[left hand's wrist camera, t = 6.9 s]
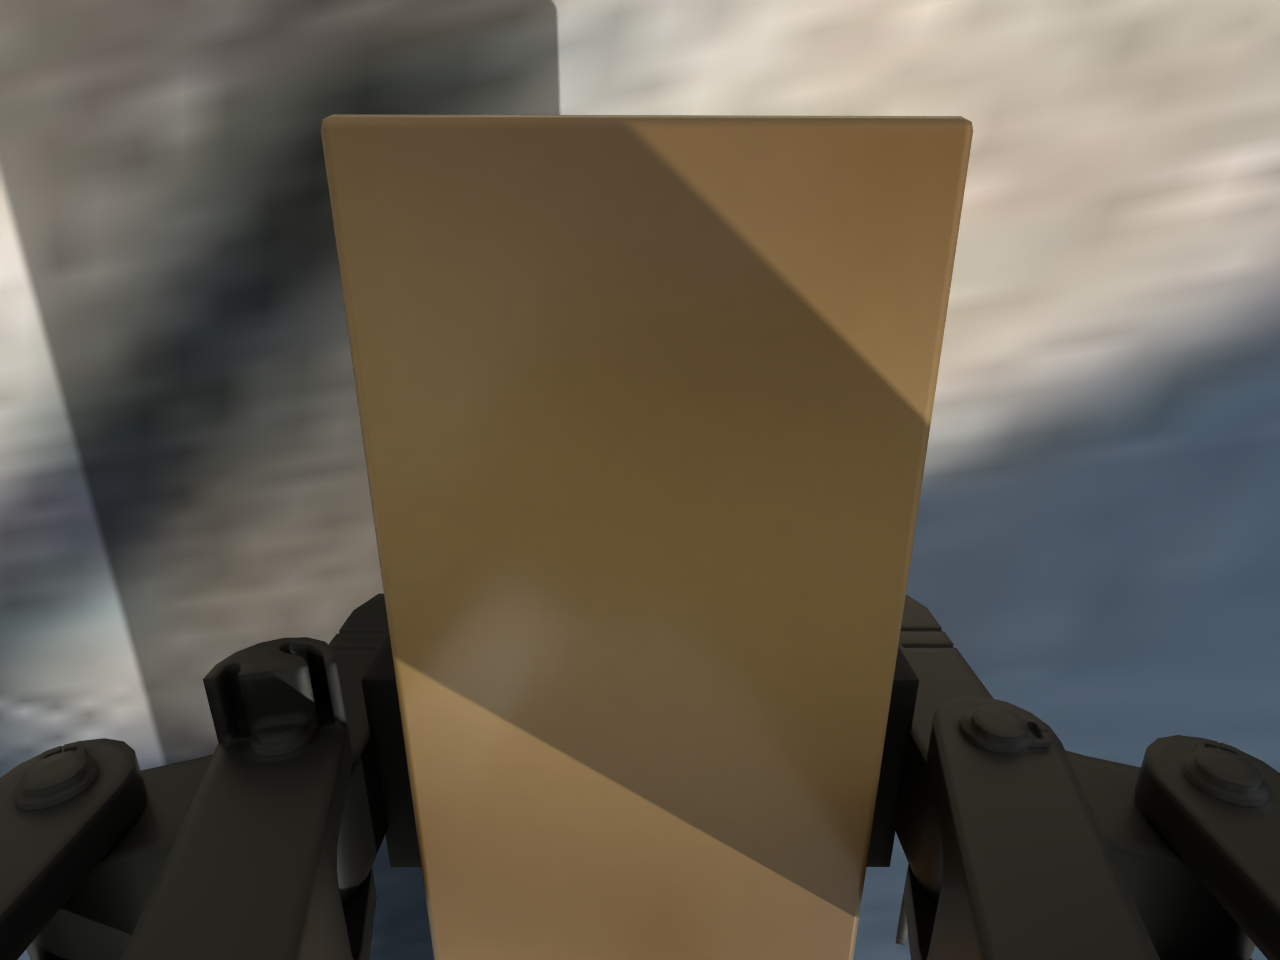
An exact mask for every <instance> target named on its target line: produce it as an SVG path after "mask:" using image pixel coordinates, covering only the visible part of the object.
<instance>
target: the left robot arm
mask: <svg viewBox="0 0 1280 960" xmlns="http://www.w3.org/2000/svg"><path fill="white" fill-rule="evenodd" d="M339 631H340V632H339V634H336V636H335V637H334V638H333V640H332V641H331V642H330V644H329V645H328V644H327V643H326V642H324V641H320V640H315V639H311V638H307V637H305V638H282V639H277V640H272V641H267V642H263V643H259V644H256V645H254V646H251V647H248V648H246V649H243V650H241V651H238V652H236V653H234V654H232V655H231V656H229V657H228V658H226V659H225V660H223V661H221V662H220V663H218V664H217V665H215V666H214V668H213V669H212V670H211V671H210V672H209V673H208V674H207V675H206V677H205V678H204V679H203V682H204V686H205V690H206V694H207V698H208V702H209V706H210V710H211V714H212V718H213V722H214V726H215V730H216V734H217V738H218V742H219V744H218V746H217V748H216V750H215V753H214V754H212V755H208V756H204V757H201V758H197V759H193V760H188V761H183V762H179V763H174V764H169V765H165V766H160V767H155V768H151V769H146V770H140V767H139V764H138V760H137V757H136V754H135V751H134V750H133V749H132V748H131V747H130V746H128V745H127V744H126V743H125V742H123V741H117V740H111V739H105V738H103V739H95V740H86V741H78V742H74V743H70V744H66V745H64V746H59V747H56V748H53V749H50V750H48V751H45V752H43V753H42V754H40V755H38V756H36V757H34V758H32V759H30V760H28V761H26V762H23V763H21V764H19V765H18V766H16V767H15V768H14V769H12V770H11V771H9V772H8V773H6V774H5V775H4V776H2V777H1V778H0V960H17V959H18V958H19V957H20V956H21V955H22V953H23V952H24V951H25V950H26V949H27V951H28V954H29V956H30V959H31V960H369V956H370V947H371V939H372V930H373V922H374V913H375V905H376V890H375V882H374V876H373V870H372V865H373V862H374V860H375V857H376V855H377V853H378V850H379V848H380V845H381V843H382V840H383V838H384V836H385V833H386V839H387V846H388V852H389V858H390V865H391V867H421V860H420V853H419V846H418V838H417V831H416V824H415V816H414V809H413V802H412V794H411V787H410V780H409V772H408V765H407V758H406V750H405V743H404V736H403V728H402V721H401V714H400V706H399V699H398V692H397V685H396V677H395V670H394V663H393V655H392V648H391V641H390V633H389V626H388V619H387V611H386V604H385V597H384V594H378V595H376V596H375V597H373V598H372V599H370V600H369V601H367V602H366V603H364V604H363V605H361V606H360V607H358V608H357V609H355V610H354V611H353V612H352V614H351V615H350V616H349V618H348V619H347V620H346V622H345V623H344V625H343V626H342V627H341V629H340V630H339ZM895 831H896V833H897V836H898V838H899V841H900V843H901V845H902V848H903V850H904V853H905V855H906V857H907V860H908V862H909V864H908V870H907V876H906V882H905V888H904V893H903V899H902V905H901V911H900V917H899V923H898V929H897V937H896V943H897V944H902V945H906V939H907V934H908V937H909V945H910V954H911V960H1252V959H1251V956H1252V953H1253V951H1254V948H1255V946H1257V947H1258V948H1259V950H1260V951H1261V952H1262V953H1263V954H1264V956H1265V957H1266V958H1267V959H1268V960H1280V773H1279V772H1277V771H1276V770H1274V769H1273V768H1272V767H1270V766H1269V765H1267V764H1266V763H1264V762H1263V761H1261V760H1259V759H1257V758H1255V757H1253V756H1251V755H1248V754H1246V753H1244V752H1242V751H1240V750H1239V749H1237V748H1235V747H1232V746H1229V745H1226V744H1224V743H1218V742H1217V741H1213V740H1208V739H1204V738H1197V737H1189V736H1180V735H1176V736H1170V737H1163V738H1158V739H1156V740H1155V741H1154V742H1153V743H1152V744H1151V745H1149V746H1148V747H1147V749H1146V753H1145V756H1144V759H1143V763H1142V766H1141V768H1140V767H1136V766H1131V765H1126V764H1121V763H1117V762H1112V761H1107V760H1103V759H1098V758H1093V757H1088V756H1084V755H1080V754H1077V753H1073V752H1069V751H1066V750H1065V749H1064V747H1063V745H1062V743H1061V741H1060V740H1059V738H1058V737H1057V736H1056V734H1055V733H1054V732H1053V730H1052V729H1051V728H1050V727H1049V726H1048V725H1047V724H1045V723H1044V722H1043V721H1041V720H1040V719H1039V718H1037V717H1036V716H1035V715H1033V714H1032V713H1030V712H1028V711H1026V710H1024V709H1021V708H1019V707H1017V706H1015V705H1012V704H1010V703H1008V702H1004V701H1000V700H996V699H993V697H992V696H991V695H990V693H989V692H988V691H987V689H986V688H985V686H984V685H983V684H982V682H981V681H980V680H979V678H978V677H977V676H976V674H975V673H974V671H973V670H972V669H971V667H970V666H969V665H968V663H967V662H966V661H965V659H964V658H963V656H962V655H961V654H960V652H959V651H958V650H957V648H954V647H953V643H952V641H951V640H950V639H949V637H948V636H947V635H946V633H945V632H942V631H941V626H940V625H939V624H938V622H937V621H936V620H935V618H934V617H933V616H932V614H931V613H930V611H929V610H928V609H927V608H926V607H925V606H923V605H922V604H920V603H919V602H917V601H916V600H914V599H912V598H911V597H909V596H908V595H906V596H905V603H904V610H903V617H902V624H901V631H900V638H899V645H898V652H897V659H896V665H895V672H894V679H893V686H892V693H891V700H890V707H889V714H888V721H887V728H886V734H885V741H884V748H883V755H882V762H881V769H880V776H879V783H878V790H877V797H876V803H875V810H874V817H873V824H872V831H871V838H870V845H869V852H868V859H867V866H866V867H890V861H891V855H892V849H893V842H894V836H895Z"/></svg>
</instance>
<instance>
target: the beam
mask: <svg viewBox="0 0 1280 960" xmlns="http://www.w3.org/2000/svg"><path fill="white" fill-rule="evenodd" d="M972 134H973V128H972V122H971V121H969V120H967V119H965V118H963V117H961V116H691V115H358V114H333V115H331V116H329V117H327V118H325V119H323V120H322V126H321V135H322V143H323V150H324V157H325V164H326V172H327V179H328V186H329V194H330V201H331V208H332V216H333V223H334V230H335V238H336V245H337V252H338V260H339V267H340V274H341V282H342V289H343V296H344V304H345V311H346V318H347V326H348V333H349V340H350V348H351V355H352V362H353V370H354V377H355V384H356V392H357V399H358V406H359V414H360V421H361V428H362V435H363V443H364V450H365V457H366V465H367V472H368V479H369V487H370V494H371V501H372V509H373V516H374V523H375V531H376V538H377V545H378V553H379V560H380V567H381V575H382V582H383V589H384V597H385V604H386V611H387V619H388V626H389V633H390V641H391V648H392V655H393V663H394V670H395V677H396V685H397V692H398V699H399V706H400V714H401V721H402V728H403V736H404V743H405V750H406V758H407V765H408V772H409V780H410V787H411V794H412V802H413V809H414V816H415V824H416V831H417V838H418V846H419V853H420V860H421V868H422V875H423V882H424V890H425V897H426V904H427V912H428V919H429V926H430V934H431V941H432V948H433V956H434V960H853V955H854V948H855V942H856V935H857V928H858V921H859V914H860V907H861V900H862V893H863V886H864V879H865V872H866V866H867V859H868V852H869V845H870V838H871V831H872V824H873V817H874V810H875V803H876V797H877V790H878V783H879V776H880V769H881V762H882V755H883V748H884V741H885V734H886V728H887V721H888V714H889V707H890V700H891V693H892V686H893V679H894V672H895V665H896V659H897V652H898V645H899V638H900V631H901V624H902V617H903V610H904V603H905V596H906V590H907V583H908V576H909V569H910V562H911V555H912V548H913V541H914V534H915V527H916V521H917V514H918V507H919V500H920V493H921V486H922V479H923V472H924V465H925V458H926V452H927V445H928V438H929V431H930V424H931V417H932V410H933V403H934V396H935V389H936V383H937V376H938V369H939V362H940V355H941V348H942V341H943V334H944V327H945V320H946V314H947V307H948V300H949V293H950V286H951V279H952V272H953V265H954V258H955V251H956V245H957V238H958V231H959V224H960V217H961V210H962V203H963V196H964V189H965V182H966V176H967V169H968V162H969V155H970V148H971V141H972Z"/></svg>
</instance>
